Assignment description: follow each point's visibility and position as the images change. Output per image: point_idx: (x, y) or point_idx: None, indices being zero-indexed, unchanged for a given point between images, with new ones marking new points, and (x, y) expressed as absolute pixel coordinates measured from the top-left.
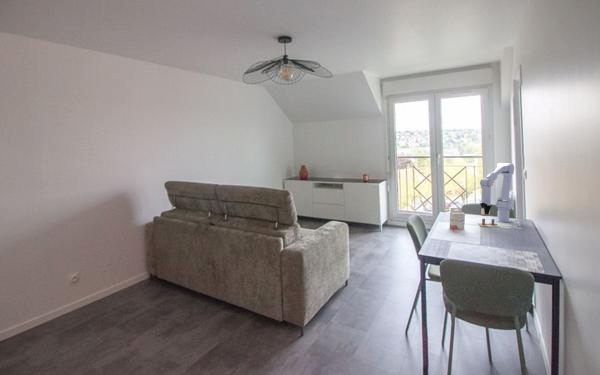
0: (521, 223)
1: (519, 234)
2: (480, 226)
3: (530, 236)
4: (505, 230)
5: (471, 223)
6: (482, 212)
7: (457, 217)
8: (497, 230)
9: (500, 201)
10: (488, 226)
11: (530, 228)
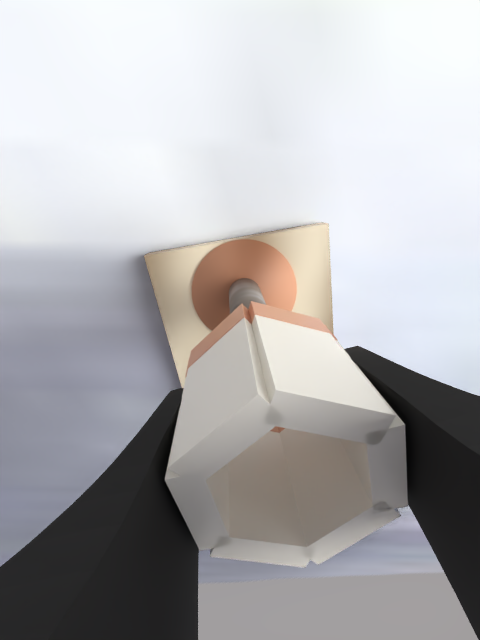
0: (399, 537)
1: (26, 522)
2: (148, 256)
3: None
4: (111, 454)
5: (330, 140)
6: (217, 357)
7: None
8: (76, 403)
9: None
10: (169, 339)
11: (251, 569)
